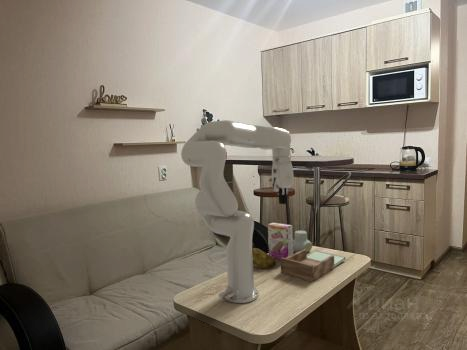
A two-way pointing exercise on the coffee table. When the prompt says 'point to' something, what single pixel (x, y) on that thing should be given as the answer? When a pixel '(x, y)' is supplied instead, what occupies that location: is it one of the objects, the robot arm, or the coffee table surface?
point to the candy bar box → (280, 240)
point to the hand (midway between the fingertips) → (283, 203)
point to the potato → (262, 259)
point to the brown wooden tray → (306, 266)
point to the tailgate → (322, 255)
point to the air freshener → (301, 242)
